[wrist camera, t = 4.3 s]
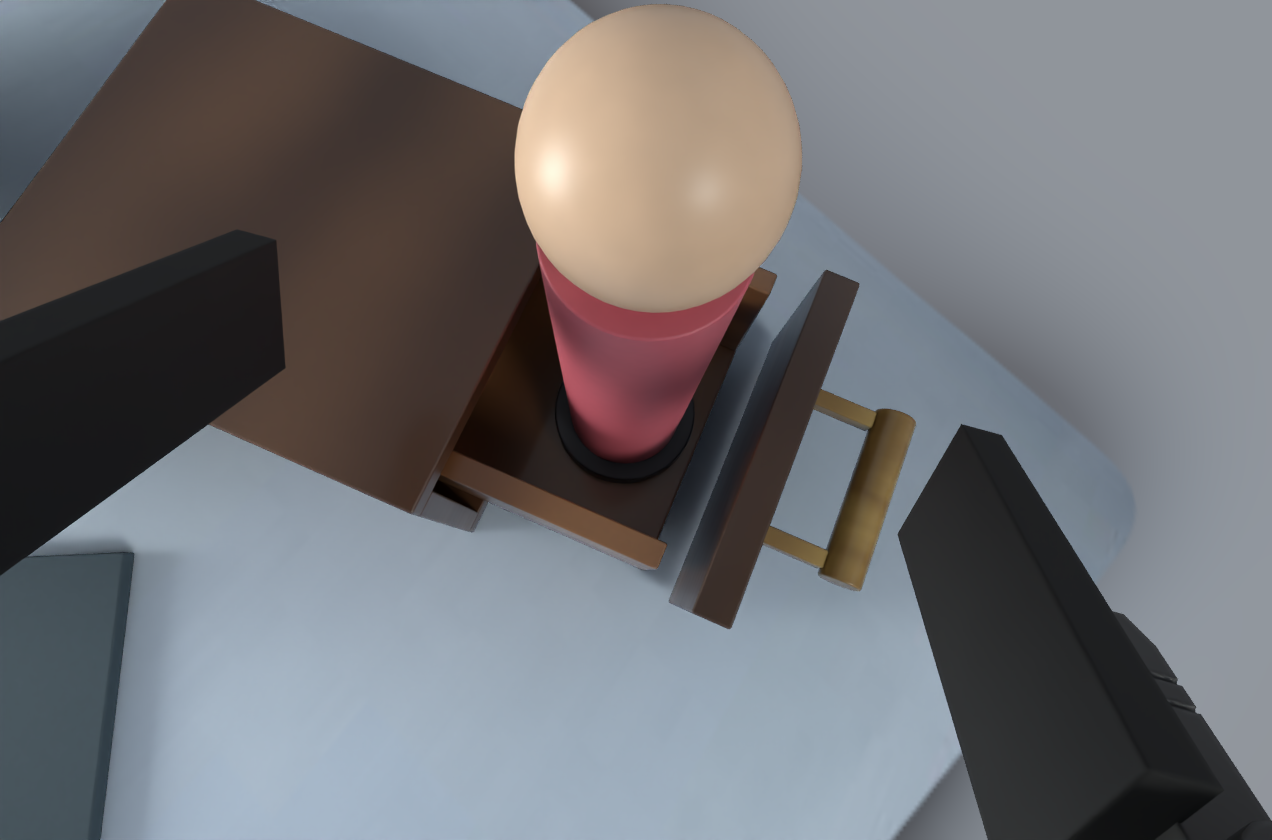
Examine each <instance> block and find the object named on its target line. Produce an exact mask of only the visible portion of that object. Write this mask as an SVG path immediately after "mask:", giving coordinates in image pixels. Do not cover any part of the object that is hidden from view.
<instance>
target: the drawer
mask: <svg viewBox="0 0 1272 840" xmlns="http://www.w3.org/2000/svg"><path fill="white" fill-rule="evenodd" d="M776 278H777V275H776V274H774V273H772V272H770V271H767V270H765V269H762V268H760V267H759V268H758V269H757V270H756V271H755V273H754V276H753V279H752V281H751V283H750V285H749V287H748V289H747V290H746V292H745V294H744V296H743V298H742V300H741V302H740V304H739V306H738V308H737V310H736V312H735V314H734V316H733V318H732V320H731V322H730V324H729V326H728V328H727V330H726V332H725V334H724V336H723V338H722V340H721V342H720V344H719V346H718V348H717V350H716V352H715V354H714V356H713V358H712V360H711V362H710V363H709V365H708V367H707V369H706V371H705V373H704V375H703V377H702V379H701V381H700V383H699V385H698V387H697V389H696V391H695V393H694V395H693V401H694V409H695V417H694V425H693V430H692V433H691V436H690V439H689V441H688V443H687V445H686V447H685V448H684V450H683V451H682V453H681V454H680V456H679V457H678V458H677V460H676V461H675V462H674V463H673V464H672V465H671V466H670V467H669V468H667V469H666V470H665V471H663V472H662V473H660V474H659V475H657V476H655V477H652V478H650V479H647V480H644V481H641V482H635V483H613V482H609V481H605V480H602V479H599V478H596V477H594V476H593V475H591V474H589V473H587V472H586V471H584V470H583V469H581V468H580V467H579V466H578V465H577V464H576V463H575V462H574V461H573V460H572V459H571V457H570V456H569V455H568V453H567V452H566V450H565V449H564V447H563V444H562V442H561V440H560V437H559V434H558V430H557V427H556V421H555V402H556V397H557V393H558V390H559V388H560V385H561V383H562V381H563V375H562V371H561V366H560V361H559V356H558V351H557V346H556V342H555V337H554V332H553V327H552V322H551V317H550V313H549V308H548V303H547V298H546V293H545V289H544V284H543V279H542V275H541V277H540V279H539V281H538V283H537V285H536V287H535V289H534V291H533V293H532V295H531V296H530V298H529V300H528V302H527V304H526V306H525V308H524V310H523V312H522V314H521V316H520V318H519V320H518V322H517V324H516V326H515V328H514V330H513V332H512V334H511V336H510V338H509V340H508V342H507V344H506V346H505V348H504V350H503V352H502V354H501V356H500V358H499V360H498V362H497V364H496V366H495V368H494V370H493V372H492V374H491V376H490V377H489V379H488V381H487V383H486V385H485V387H484V389H483V391H482V393H481V395H480V397H479V399H478V401H477V403H476V405H475V407H474V409H473V411H472V413H471V415H470V417H469V419H468V421H467V423H466V425H465V427H464V429H463V431H462V433H461V435H460V437H459V439H458V441H457V443H456V445H455V447H454V449H453V451H452V453H451V455H450V457H449V458H448V460H447V462H446V464H445V466H444V468H443V470H442V472H441V474H440V476H439V478H438V480H439V481H441V482H443V483H446V484H448V485H450V486H453V487H455V488H457V489H459V490H462V491H464V492H466V493H468V494H471V495H473V496H475V497H478V498H480V499H482V500H484V501H487V502H489V503H491V504H494V505H496V506H498V507H500V508H503V509H505V510H507V511H509V512H512V513H514V514H516V515H519V516H521V517H523V518H525V519H528V520H530V521H532V522H534V523H537V524H539V525H541V526H544V527H546V528H548V529H550V530H553V531H555V532H557V533H559V534H562V535H564V536H566V537H569V538H571V539H573V540H575V541H578V542H580V543H582V544H584V545H587V546H589V547H591V548H594V549H596V550H598V551H600V552H603V553H605V554H607V555H609V556H612V557H614V558H616V559H619V560H621V561H623V562H625V563H628V564H630V565H632V566H634V567H637V568H639V569H641V570H652V569H657V568H658V566H659V564H660V562H661V559H662V557H663V554H664V552H665V549H666V547H667V544H666V543H665V542H662V541H660V540H658V538H659V536H660V533H661V531H662V529H663V526H664V524H665V521H666V519H667V516H668V514H669V512H670V509H671V507H672V504H673V502H674V500H675V497H676V495H677V492H678V490H679V487H680V485H681V483H682V480H683V478H684V475H685V473H686V471H687V468H688V466H689V463H690V461H691V458H692V456H693V454H694V451H695V449H696V446H697V444H698V442H699V439H700V437H701V434H702V432H703V429H704V427H705V425H706V422H707V420H708V417H709V415H710V413H711V410H712V408H713V405H714V403H715V400H716V398H717V396H718V393H719V391H720V388H721V386H722V384H723V381H724V379H725V376H726V374H727V371H728V369H729V367H730V364H731V362H732V359H733V357H734V355H735V352H736V350H737V348H738V347H739V345H740V343H741V342H742V340H743V338H744V337H745V335H746V333H747V332H748V330H749V328H750V327H751V325H752V323H753V322H754V320H755V318H756V317H757V315H758V313H759V312H760V310H761V308H762V307H763V305H764V303H765V301H766V300H767V298H768V296H769V295H770V293H771V290H772V288H773V285H774V283H775V281H776ZM858 288H859V283H858V282H855V281H853V280H850V279H848V278H845V277H843V276H841V275H838V274H836V273H833V272H831V271H828V270H825V271H824V272H823V274H822V275H821V276H820V278H819V279H818V281H817V282H816V283H815V285H814V286H813V287H812V289H811V290H810V291H809V293H808V294H807V296H806V297H805V298H804V300H803V301H802V302H801V304H800V305H799V306H798V308H797V309H796V311H795V312H794V313H793V315H792V316H791V317H790V319H789V320H788V321H787V323H786V324H785V326H784V327H783V328H782V330H781V331H780V332H779V334H778V335H777V336H776V338H775V339H774V341H773V342H772V344H771V346H770V349H769V351H768V354H767V356H766V359H765V361H764V364H763V366H762V369H761V371H760V374H759V376H758V379H757V381H756V384H755V386H754V389H753V391H752V394H751V396H750V399H749V401H748V404H747V406H746V409H745V411H744V414H743V416H742V419H741V421H740V424H739V426H738V429H737V431H736V434H735V436H734V439H733V441H732V444H731V446H730V449H729V451H728V454H727V456H726V459H725V461H724V464H723V466H722V469H721V471H720V474H719V476H718V479H717V481H716V484H715V486H714V489H713V491H712V494H711V496H710V499H709V501H708V504H707V506H706V509H705V511H704V514H703V516H702V519H701V521H700V524H699V526H698V529H697V531H696V534H695V536H694V539H693V541H692V544H691V546H690V549H689V551H688V554H687V556H686V559H685V561H684V563H683V566H682V568H681V571H680V573H679V576H678V578H677V581H676V583H675V586H674V588H673V591H672V593H671V596H670V598H669V603H671V604H673V605H675V606H678V607H680V608H682V609H684V610H686V611H689V612H691V613H693V614H695V615H697V616H700V617H702V618H704V619H707V620H709V621H711V622H713V623H716V624H718V625H720V626H722V627H725V628H727V629H730V628H731V627H732V625H733V622H734V620H735V617H736V614H737V612H738V609H739V606H740V604H741V601H742V598H743V595H744V593H745V590H746V587H747V585H748V582H749V579H750V577H751V574H752V571H753V569H754V566H755V563H756V561H757V558H758V555H759V553H760V550H761V547H762V545H765V546H767V547H769V548H771V549H774V550H776V551H778V552H781V553H783V554H785V555H788V556H790V557H792V558H794V559H797V560H799V561H801V562H804V563H806V564H808V565H811V566H813V567H815V568H819V571H818V575H819V576H820V577H821V578H823V579H824V580H826V581H829V582H831V583H833V584H835V585H838V586H841V587H843V588H846V589H849V590H853V591H860V590H861V589H862V586H863V583H864V580H865V577H866V574H867V571H868V568H869V565H870V562H871V559H872V556H873V553H874V550H875V547H876V544H877V541H878V538H879V534H880V531H881V528H882V525H883V522H884V519H885V516H886V513H887V510H888V507H889V504H890V501H891V498H892V495H893V492H894V489H895V486H896V483H897V480H898V477H899V474H900V471H901V468H902V465H903V462H904V459H905V456H906V453H907V450H908V447H909V444H910V441H911V438H912V435H913V432H914V429H915V426H916V421H915V420H914V419H913V418H912V417H911V416H909V415H907V414H905V413H903V412H900V411H897V410H892V409H877V410H876V411H875V412H874V411H872V410H870V409H867V408H865V407H863V406H860V405H858V404H855V403H853V402H851V401H848V400H846V399H843V398H841V397H839V396H836V395H834V394H832V393H829V392H827V391H824V390H822V389H821V387H822V384H823V382H824V379H825V376H826V374H827V371H828V368H829V366H830V363H831V360H832V358H833V355H834V352H835V350H836V347H837V344H838V342H839V339H840V336H841V334H842V331H843V328H844V326H845V323H846V320H847V318H848V315H849V312H850V310H851V307H852V304H853V302H854V299H855V296H856V294H857V291H858ZM813 409H814V410H816V411H819V412H821V413H823V414H826V415H828V416H831V417H833V418H835V419H838V420H840V421H842V422H845V423H847V424H850V425H852V426H854V427H857V428H859V429H861V430H864V431H866V430H868V431H867V434H866V437H865V440H864V443H863V445H862V448H861V451H860V454H859V457H858V460H857V462H856V465H855V468H854V471H853V474H852V477H851V480H850V482H849V485H848V488H847V491H846V494H845V497H844V500H843V502H842V505H841V508H840V511H839V514H838V517H837V520H836V522H835V525H834V528H833V531H832V534H831V537H830V540H829V542H828V545H827V548H826V550H825V549H823V548H821V547H818V546H816V545H814V544H811V543H809V542H807V541H804V540H802V539H800V538H798V537H795V536H793V535H791V534H788V533H786V532H784V531H781V530H779V529H777V528H774V527H772V526H770V523H771V521H772V518H773V515H774V513H775V510H776V507H777V505H778V502H779V499H780V497H781V494H782V491H783V489H784V486H785V483H786V481H787V478H788V475H789V473H790V470H791V467H792V465H793V462H794V459H795V457H796V454H797V451H798V449H799V446H800V443H801V441H802V438H803V435H804V433H805V430H806V427H807V425H808V422H809V419H810V417H811V414H812V411H813Z"/></svg>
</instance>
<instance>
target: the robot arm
mask: <svg viewBox="0 0 1272 840" xmlns="http://www.w3.org/2000/svg"><path fill="white" fill-rule="evenodd" d="M285 368H286V366H285V352H284V338H283V324H282V310H281V296H280V282H279V268H278V255H277V241H276V240H275V239H272V238H268V237H264V236H261V235H257V234H253V233H249V232H246V231H242V230H238V229H236V230H233V231H231V232H228V233H226V234H223V235H221V236H218V237H215V238H213V239H210V240H208V241H205V242H202V243H200V244H197V245H195V246H192V247H190V248H187V249H184V250H182V251H179V252H177V253H174V254H172V255H169V256H166V257H164V258H161V259H159V260H156V261H153V262H151V263H148V264H146V265H143V266H141V267H138V268H135V269H133V270H130V271H128V272H125V273H122V274H120V275H117V276H115V277H112V278H110V279H107V280H104V281H102V282H99V283H97V284H94V285H92V286H89V287H86V288H84V289H81V290H79V291H76V292H73V293H71V294H68V295H66V296H63V297H61V298H58V299H55V300H53V301H50V302H48V303H45V304H43V305H40V306H37V307H35V308H32V309H30V310H27V311H24V312H22V313H19V314H17V315H14V316H12V317H9V318H6V319H4V320H1V321H0V576H1V575H2V574H3V573H5V572H6V571H8V570H9V569H10V568H12V567H13V566H14V565H16V564H17V563H19V562H20V561H21V560H23V559H24V558H25V557H27V556H28V555H30V554H31V553H32V552H34V551H35V550H36V549H38V548H39V547H41V546H42V545H43V544H45V543H46V542H47V541H49V540H50V539H52V538H53V537H54V536H56V535H57V534H58V533H60V532H61V531H62V530H64V529H65V528H67V527H68V526H69V525H71V524H72V523H73V522H75V521H76V520H78V519H79V518H80V517H82V516H83V515H84V514H86V513H87V512H89V511H90V510H91V509H93V508H94V507H95V506H97V505H98V504H100V503H101V502H102V501H104V500H105V499H106V498H108V497H109V496H111V495H112V494H113V493H115V492H116V491H117V490H119V489H120V488H122V487H123V486H124V485H126V484H127V483H128V482H130V481H131V480H133V479H134V478H135V477H137V476H138V475H139V474H141V473H142V472H144V471H145V470H146V469H148V468H149V467H150V466H152V465H153V464H155V463H156V462H157V461H159V460H160V459H161V458H163V457H164V456H165V455H167V454H168V453H170V452H171V451H172V450H174V449H175V448H176V447H178V446H179V445H181V444H182V443H183V442H185V441H186V440H187V439H189V438H190V437H192V436H193V435H194V434H196V433H197V432H198V431H200V430H201V429H203V428H204V427H205V426H207V425H208V424H209V423H211V422H212V421H214V420H215V419H216V418H218V417H219V416H220V415H222V414H223V413H225V412H226V411H227V410H229V409H230V408H231V407H233V406H234V405H236V404H237V403H238V402H240V401H241V400H242V399H244V398H245V397H247V396H248V395H249V394H251V393H252V392H253V391H255V390H256V389H257V388H259V387H260V386H262V385H263V384H264V383H266V382H267V381H268V380H270V379H271V378H273V377H274V376H275V375H277V374H278V373H279V372H281V371H282V370H284V369H285ZM898 537H899V541H900V544H901V547H902V551H903V554H904V558H905V561H906V564H907V568H908V571H909V574H910V578H911V581H912V585H913V588H914V591H915V595H916V598H917V602H918V605H919V608H920V612H921V615H922V618H923V622H924V625H925V629H926V632H927V635H928V639H929V642H930V645H931V649H932V652H933V656H934V659H935V662H936V666H937V669H938V673H939V676H940V679H941V683H942V686H943V689H944V693H945V696H946V700H947V703H948V706H949V710H950V713H951V716H952V720H953V723H954V727H955V730H956V733H957V737H958V740H959V743H960V747H961V750H962V754H963V757H964V760H965V764H966V767H967V771H968V774H969V777H970V781H971V784H972V787H973V791H974V794H975V798H976V801H977V804H978V808H979V811H980V814H981V818H982V821H983V825H984V828H985V831H986V835H987V838H988V840H1272V821H1271V820H1270V818H1269V817H1268V815H1267V814H1266V812H1265V811H1264V809H1263V808H1262V806H1261V804H1260V803H1259V801H1258V800H1257V799H1256V797H1255V795H1254V794H1253V792H1252V791H1251V789H1250V788H1249V787H1248V785H1247V783H1246V782H1245V780H1244V779H1243V777H1242V776H1241V774H1240V773H1239V772H1238V770H1237V768H1236V767H1235V765H1234V764H1233V762H1232V761H1231V759H1230V758H1229V756H1228V755H1227V753H1226V752H1225V750H1224V749H1223V747H1222V746H1221V744H1220V742H1219V741H1218V740H1217V738H1216V736H1215V735H1214V734H1213V732H1212V730H1211V729H1210V727H1209V726H1208V724H1207V723H1206V721H1205V720H1204V718H1203V717H1202V716H1201V714H1197V713H1196V712H1195V708H1196V706H1195V705H1194V703H1193V702H1192V700H1191V699H1190V697H1189V696H1188V694H1187V693H1186V691H1185V690H1184V688H1183V687H1182V686H1180V685H1177V677H1176V676H1175V674H1174V673H1173V671H1172V670H1171V668H1170V667H1169V665H1168V664H1167V662H1166V661H1165V659H1164V658H1163V657H1162V655H1161V654H1160V652H1159V650H1158V649H1157V647H1156V646H1155V645H1154V644H1153V643H1152V642H1151V641H1150V640H1149V639H1148V638H1147V637H1146V636H1145V635H1144V634H1143V633H1142V632H1141V631H1140V630H1139V629H1138V628H1137V627H1136V626H1135V625H1134V624H1133V623H1132V622H1131V621H1130V620H1129V619H1128V618H1127V617H1126V616H1125V615H1124V614H1120V613H1117V612H1113V611H1112V610H1111V609H1110V607H1109V606H1108V604H1107V602H1106V601H1105V599H1104V597H1103V596H1102V594H1101V593H1100V591H1099V589H1098V588H1097V586H1096V585H1095V583H1094V582H1093V580H1092V578H1091V577H1090V575H1089V574H1088V572H1087V570H1086V569H1085V567H1084V566H1083V564H1082V562H1081V561H1080V559H1079V558H1078V556H1077V554H1076V553H1075V551H1074V550H1073V548H1072V546H1071V545H1070V543H1069V542H1068V540H1067V538H1066V537H1065V535H1064V534H1063V532H1062V530H1061V529H1060V527H1059V526H1058V524H1057V522H1056V521H1055V519H1054V518H1053V516H1052V514H1051V513H1050V511H1049V510H1048V508H1047V506H1046V505H1045V503H1044V502H1043V500H1042V498H1041V497H1040V495H1039V494H1038V492H1037V490H1036V489H1035V487H1034V486H1033V484H1032V482H1031V481H1030V479H1029V478H1028V476H1027V475H1026V473H1025V471H1024V470H1023V468H1022V467H1021V465H1020V463H1019V462H1018V460H1017V459H1016V457H1015V455H1014V454H1013V452H1012V451H1011V449H1010V447H1009V446H1008V444H1007V443H1006V441H1005V439H1004V438H1003V436H1002V435H999V434H996V433H992V432H988V431H985V430H981V429H977V428H973V427H970V426H966V425H962V424H961V426H960V427H959V429H958V431H957V433H956V434H955V436H954V438H953V440H952V441H951V443H950V445H949V446H948V448H947V450H946V452H945V453H944V455H943V457H942V458H941V460H940V462H939V464H938V465H937V467H936V469H935V471H934V472H933V474H932V476H931V477H930V479H929V481H928V483H927V484H926V486H925V488H924V489H923V491H922V493H921V495H920V496H919V498H918V500H917V501H916V503H915V505H914V507H913V508H912V510H911V512H910V514H909V515H908V517H907V519H906V520H905V522H904V524H903V526H902V527H901V529H900V531H899V532H898Z"/></svg>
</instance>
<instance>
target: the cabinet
mask: <svg viewBox="0 0 1272 840" xmlns="http://www.w3.org/2000/svg"><path fill="white" fill-rule="evenodd" d="M522 110H523V109H520V108H518V107H516V106H513V105H511V104H508V103H506V102H503V101H501V100H498V99H496V98H493V97H491V96H489V95H486V94H484V93H481V92H479V91H476V90H474V89H471V88H469V87H467V86H464V85H462V84H459V83H457V82H454V81H452V80H449V79H447V78H445V77H442V76H440V75H437V74H435V73H432V72H430V71H427V70H425V69H422V68H420V67H418V66H415V65H413V64H410V63H408V62H405V61H403V60H400V59H398V58H396V57H393V56H391V55H388V54H386V53H383V52H381V51H378V50H376V49H374V48H371V47H369V46H366V45H364V44H361V43H359V42H356V41H354V40H351V39H349V38H347V37H344V36H342V35H339V34H337V33H334V32H332V31H329V30H327V29H325V28H322V27H320V26H317V25H315V24H312V23H310V22H307V21H305V20H303V19H300V18H298V17H295V16H293V15H290V14H288V13H285V12H283V11H280V10H278V9H276V8H273V7H271V6H268V5H266V4H263V3H261V2H258V1H256V0H166V1H165V2H164V4H163V5H162V6H161V8H160V9H159V11H158V12H157V13H156V15H155V16H154V17H153V19H152V20H151V21H150V23H149V24H148V25H147V27H146V28H145V29H144V31H143V32H142V33H141V35H140V36H139V37H138V39H137V40H136V41H135V43H134V44H133V45H132V47H131V48H130V50H129V51H128V52H127V54H126V55H125V56H124V58H123V59H122V60H121V62H120V63H119V64H118V66H117V67H116V68H115V70H114V71H113V72H112V74H111V75H110V76H109V78H108V79H107V80H106V82H105V83H104V84H103V86H102V87H101V89H100V90H99V91H98V93H97V94H96V95H95V97H94V98H93V99H92V101H91V102H90V103H89V105H88V106H87V107H86V109H85V110H84V111H83V113H82V114H81V115H80V117H79V118H78V119H77V121H76V122H75V123H74V125H73V126H72V128H71V129H70V130H69V132H68V133H67V134H66V136H65V137H64V138H63V140H62V141H61V142H60V144H59V145H58V146H57V148H56V149H55V150H54V152H53V153H52V154H51V156H50V157H49V158H48V160H47V161H46V163H45V164H44V165H43V167H42V168H41V169H40V171H39V172H38V173H37V175H36V176H35V177H34V179H33V180H32V181H31V183H30V184H29V185H28V187H27V188H26V189H25V191H24V192H23V193H22V195H21V196H20V197H19V199H18V200H17V202H16V203H15V204H14V206H13V207H12V208H11V210H10V211H9V212H8V214H7V215H6V216H5V218H4V219H3V220H2V222H1V223H0V321H1V320H4V319H6V318H9V317H12V316H14V315H17V314H19V313H22V312H24V311H27V310H30V309H32V308H35V307H37V306H40V305H43V304H45V303H48V302H50V301H53V300H55V299H58V298H61V297H63V296H66V295H68V294H71V293H73V292H76V291H79V290H81V289H84V288H86V287H89V286H92V285H94V284H97V283H99V282H102V281H104V280H107V279H110V278H112V277H115V276H117V275H120V274H122V273H125V272H128V271H130V270H133V269H135V268H138V267H141V266H143V265H146V264H148V263H151V262H153V261H156V260H159V259H161V258H164V257H166V256H169V255H172V254H174V253H177V252H179V251H182V250H184V249H187V248H190V247H192V246H195V245H197V244H200V243H202V242H205V241H208V240H210V239H213V238H215V237H218V236H221V235H223V234H226V233H228V232H231V231H233V230H236V229H238V230H242V231H246V232H249V233H253V234H257V235H261V236H264V237H268V238H272V239H275V240H276V241H277V255H278V268H279V282H280V296H281V310H282V324H283V338H284V352H285V366H286V368H285V369H284V370H282V371H281V372H279V373H278V374H277V375H275V376H274V377H273V378H271V379H270V380H268V381H267V382H266V383H264V384H263V385H262V386H260V387H259V388H257V389H256V390H255V391H253V392H252V393H251V394H249V395H248V396H247V397H245V398H244V399H242V400H241V401H240V402H238V403H237V404H236V405H234V406H233V407H231V408H230V409H229V410H227V411H226V412H225V413H223V414H222V415H220V416H219V417H218V418H216V419H215V420H214V421H212V422H211V423H209V425H211V426H213V427H216V428H218V429H220V430H222V431H225V432H227V433H229V434H231V435H234V436H236V437H238V438H240V439H243V440H245V441H247V442H249V443H252V444H254V445H256V446H258V447H261V448H263V449H265V450H267V451H270V452H272V453H274V454H276V455H279V456H281V457H283V458H285V459H288V460H290V461H292V462H295V463H297V464H299V465H301V466H304V467H306V468H308V469H310V470H313V471H315V472H317V473H319V474H322V475H324V476H326V477H328V478H331V479H333V480H335V481H337V482H340V483H342V484H344V485H346V486H349V487H351V488H353V489H355V490H358V491H360V492H362V493H364V494H367V495H369V496H371V497H373V498H376V499H378V500H380V501H382V502H385V503H387V504H389V505H392V506H394V507H396V508H398V509H401V510H403V511H405V512H407V513H410V514H413V515H416V516H419V517H422V518H426V519H429V520H432V521H435V522H439V523H442V524H445V525H448V526H452V527H455V528H458V529H462V530H465V531H468V532H474V530H475V528H476V526H477V524H478V522H479V520H480V518H481V516H482V514H483V512H484V510H485V507H486V505H487V503H488V502H487V501H484V500H482V499H480V498H478V497H475V496H473V495H471V494H468V493H466V492H464V491H462V490H459V489H457V488H455V487H453V486H450V485H448V484H446V483H443V482H441V481H439V480H438V478H439V476H440V474H441V472H442V470H443V468H444V466H445V464H446V462H447V460H448V458H449V457H450V455H451V453H452V451H453V449H454V447H455V445H456V443H457V441H458V439H459V437H460V435H461V433H462V431H463V429H464V427H465V425H466V423H467V421H468V419H469V417H470V415H471V413H472V411H473V409H474V407H475V405H476V403H477V401H478V399H479V397H480V395H481V393H482V391H483V389H484V387H485V385H486V383H487V381H488V379H489V377H490V376H491V374H492V372H493V370H494V368H495V366H496V364H497V362H498V360H499V358H500V356H501V354H502V352H503V350H504V348H505V346H506V344H507V342H508V340H509V338H510V336H511V334H512V332H513V330H514V328H515V326H516V324H517V322H518V320H519V318H520V316H521V314H522V312H523V310H524V308H525V306H526V304H527V302H528V300H529V298H530V296H531V295H532V293H533V291H534V289H535V287H536V285H537V283H538V281H539V279H540V277H541V275H542V274H541V269H540V264H539V260H538V254H537V248H536V240H535V239H534V237H533V235H532V233H531V230H530V228H529V226H528V224H527V222H526V219H525V216H524V213H523V210H522V207H521V204H520V200H519V197H518V191H517V184H516V177H515V145H516V137H517V130H518V124H519V120H520V117H521V114H522Z"/></svg>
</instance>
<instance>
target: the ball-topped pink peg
mask: <svg viewBox="0 0 1272 840" xmlns="http://www.w3.org/2000/svg"><path fill="white" fill-rule="evenodd" d="M801 171H802V144H801V135H800V127H799V122H798V119H797V115H796V111H795V108H794V105H793V102H792V98H791V96H790V94H789V92H788V89H787V87H786V85H785V83H784V81H783V80H782V78H781V76H780V75H779V73H778V71H777V70H776V68H775V67H774V65H773V63H772V62H771V61H770V59H769V58H768V57H767V56H766V54H765V53H764V52H763V51H762V50H761V49H760V48H759V47H758V46H757V45H756V44H755V43H754V42H753V41H752V40H751V39H750V38H748V37H747V36H746V35H745V34H743V33H742V32H741V31H739V30H738V29H737V28H736V27H734V26H733V25H731V24H729V23H728V22H726V21H724V20H723V19H720V18H718V17H716V16H714V15H712V14H710V13H706V12H704V11H701V10H697V9H694V8H689V7H685V6H678V5H668V4H650V5H642V6H635V7H631V8H627V9H623V10H620V11H617V12H615V13H612V14H609V15H607V16H604V17H602V18H600V19H598V20H596V21H594V22H592V23H590V24H588V25H587V26H585V27H584V28H582V29H581V30H579V31H578V32H577V33H576V34H574V35H573V36H572V37H571V38H570V39H569V40H568V41H566V42H565V43H564V44H563V45H562V46H561V47H560V48H559V49H558V50H557V51H556V52H555V53H554V54H553V56H552V57H551V58H550V59H549V60H548V62H547V63H546V65H545V66H544V68H543V69H542V71H541V72H540V74H539V75H538V77H537V79H536V80H535V82H534V83H533V85H532V88H531V90H530V92H529V94H528V96H527V98H526V101H525V104H524V107H523V110H522V114H521V117H520V120H519V124H518V130H517V137H516V145H515V177H516V184H517V191H518V197H519V200H520V204H521V207H522V210H523V213H524V216H525V219H526V222H527V224H528V226H529V228H530V230H531V233H532V235H533V237H534V239H535V240H536V248H537V254H538V260H539V264H540V269H541V274H542V279H543V284H544V289H545V293H546V298H547V303H548V308H549V313H550V317H551V322H552V327H553V332H554V337H555V342H556V346H557V351H558V356H559V361H560V366H561V371H562V375H563V381H562V383H561V385H560V388H559V390H558V393H557V397H556V402H555V421H556V427H557V430H558V434H559V437H560V440H561V442H562V444H563V447H564V449H565V450H566V452H567V453H568V455H569V456H570V457H571V459H572V460H573V461H574V462H575V463H576V464H577V465H578V466H579V467H580V468H581V469H583V470H584V471H586V472H587V473H589V474H591V475H593V476H594V477H596V478H599V479H602V480H605V481H609V482H613V483H635V482H641V481H644V480H647V479H650V478H652V477H655V476H657V475H659V474H660V473H662V472H663V471H665V470H666V469H667V468H669V467H670V466H671V465H672V464H673V463H674V462H675V461H676V460H677V458H678V457H679V456H680V454H681V453H682V451H683V450H684V448H685V447H686V445H687V443H688V441H689V439H690V436H691V433H692V430H693V425H694V417H695V409H694V401H693V395H694V393H695V391H696V389H697V387H698V385H699V383H700V381H701V379H702V377H703V375H704V373H705V371H706V369H707V367H708V365H709V363H710V362H711V360H712V358H713V356H714V354H715V352H716V350H717V348H718V346H719V344H720V342H721V340H722V338H723V336H724V334H725V332H726V330H727V328H728V326H729V324H730V322H731V320H732V318H733V316H734V314H735V312H736V310H737V308H738V306H739V304H740V302H741V300H742V298H743V296H744V294H745V292H746V290H747V289H748V287H749V285H750V283H751V281H752V279H753V276H754V273H755V271H756V270H757V269H758V268H759V267H760V265H761V264H762V263H763V262H764V261H765V260H766V259H767V257H768V256H769V254H770V253H771V251H772V250H773V249H774V247H775V246H776V244H777V243H778V241H779V240H780V238H781V236H782V234H783V232H784V230H785V229H786V227H787V225H788V222H789V220H790V217H791V215H792V212H793V209H794V206H795V203H796V200H797V196H798V190H799V184H800V178H801Z"/></svg>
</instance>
